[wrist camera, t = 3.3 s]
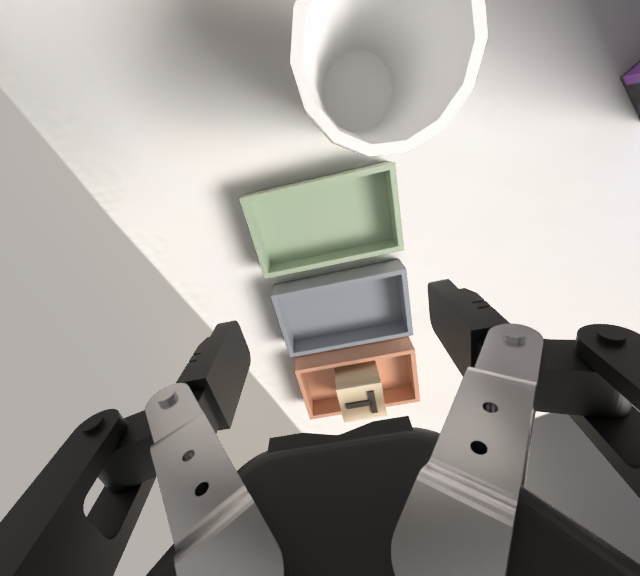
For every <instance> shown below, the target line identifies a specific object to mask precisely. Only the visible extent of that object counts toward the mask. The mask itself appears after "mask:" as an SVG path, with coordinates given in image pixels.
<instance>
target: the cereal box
mask: <svg viewBox="0 0 640 576" xmlns="http://www.w3.org/2000/svg"><path fill="white" fill-rule="evenodd" d="M620 78H621V81H622V83H623V85H624V87H625V89H626V91H627V93H628V95H629V97H630V99H631V101H632V104H633V106H634V108H635V110H636V112H637V114H638V116H639V118H640V61H639V62H638V63H637V64H636V65H635V66H633V67H632V68H631V69H630V70H629V71H627V72H626V73H625V74H624V75H623V76H622V77H620Z"/></svg>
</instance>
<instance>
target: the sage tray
mask: <svg viewBox="0 0 640 576" xmlns="http://www.w3.org/2000/svg"><path fill="white" fill-rule="evenodd" d="M239 200H240V203H241V206H242V209H243V213H244V216H245V219H246V222H247V225H248V228H249V231H250V234H251V237H252V240H253V244H254V247H255V250H256V253H257V256H258V259H259V262H260V265H261V268H262V272H263V275H264V278H265V279H267V278H272V277H277V276H281V275H286V274H291V273H296V272H301V271H306V270H310V269H315V268H320V267H325V266H330V265H335V264H339V263H344V262H349V261H354V260H359V259H363V258H368V257H373V256H378V255H383V254H388V253H392V252H397V251H402V250H404V243H403V234H402V224H401V215H400V205H399V196H398V186H397V177H396V167H395V162H390V161H386V162H382V163H378V164H373V165H369V166H365V167H360V168H356V169H352V170H347V171H343V172H339V173H335V174H330V175H326V176H322V177H317V178H313V179H309V180H305V181H300V182H296V183H292V184H287V185H283V186H279V187H275V188H270V189H266V190H262V191H257V192H253V193H249V194H246V195H244V196H243V197H241V198H239Z"/></svg>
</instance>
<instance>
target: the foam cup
mask: <svg viewBox="0 0 640 576" xmlns="http://www.w3.org/2000/svg"><path fill="white" fill-rule="evenodd" d="M487 39H488V29H487V17H486V6H485V0H296V2H295V4H294V6H293V21H292V37H291V53H290V64H291V67H292V70H293V74H294V77H295V80H296V83H297V86H298V89H299V92H300V96H301V99H302V102H303V105H304V108H305V111H306V114H307V115H308V117H309V118H310V119H311V120H312V121H313V122H314V123H315V125H316V126H317V127H318V128H319V129H320V130H321V131H322V133H323V134H324V135H325V136H326V137H327V138H328V139H329V140H330V142H331V143H333V144H336V145H338V146H341V147H343V148H346V149H348V150H351V151H354V152H356V153H359V154H361V155H364V156H378V155H386V154H395V153H403V152H409V151H411V150H412V149H414V148H415V147H417V146H419V145H420V144H422V143H423V142H425V141H426V140H428V139H430V138H431V137H433V136H434V135H436V134H437V133H439V132H441V131H442V130H444V129H445V128H446V127H447V125H448V124H449V122H450V121H451V120H452V118H453V117H454V115H455V114H456V113H457V111H458V110H459V108H460V107H461V106H462V104H463V103H464V101H465V100H466V99H467V97H468V96H469V94H470V93H471V92H472V90H473V89H474V85H475V82H476V78H477V74H478V71H479V67H480V64H481V60H482V57H483V53H484V49H485V46H486V42H487Z"/></svg>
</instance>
